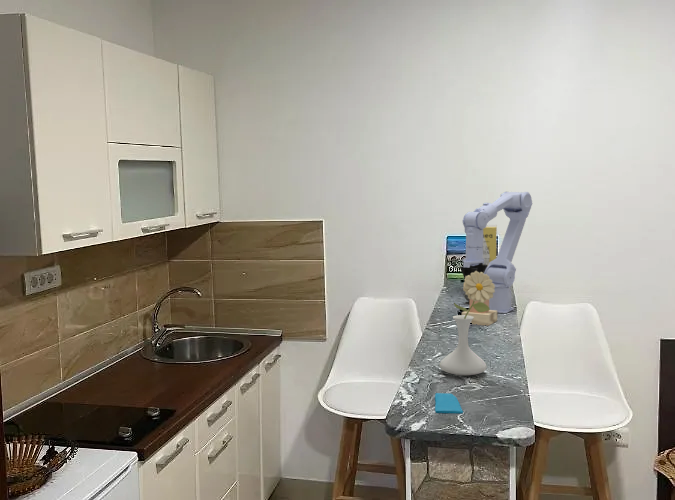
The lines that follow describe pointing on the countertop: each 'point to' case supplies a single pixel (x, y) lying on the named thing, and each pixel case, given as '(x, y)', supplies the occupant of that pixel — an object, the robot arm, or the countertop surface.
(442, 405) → the sponge
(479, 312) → the terracotta cube
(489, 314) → the birch base
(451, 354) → the flower in vase
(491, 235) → the pasta box
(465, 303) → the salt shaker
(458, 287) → the countertop surface
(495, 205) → the robot arm
